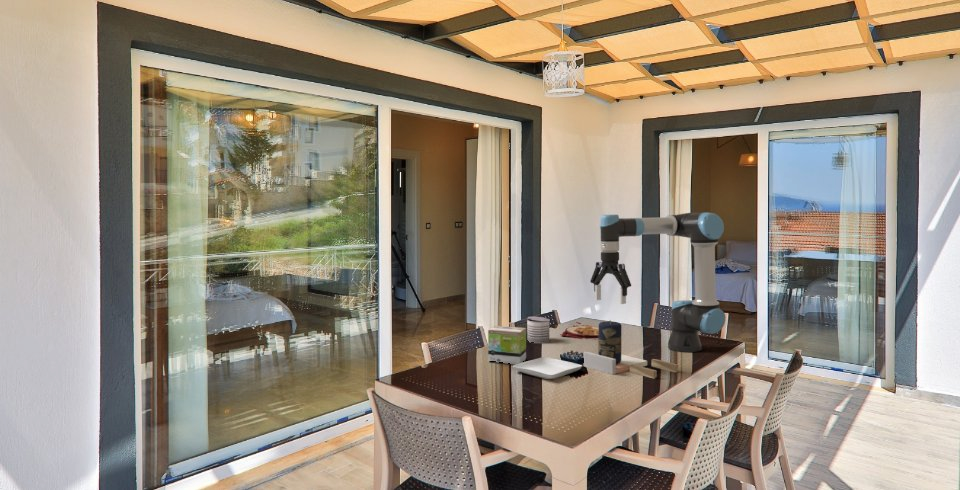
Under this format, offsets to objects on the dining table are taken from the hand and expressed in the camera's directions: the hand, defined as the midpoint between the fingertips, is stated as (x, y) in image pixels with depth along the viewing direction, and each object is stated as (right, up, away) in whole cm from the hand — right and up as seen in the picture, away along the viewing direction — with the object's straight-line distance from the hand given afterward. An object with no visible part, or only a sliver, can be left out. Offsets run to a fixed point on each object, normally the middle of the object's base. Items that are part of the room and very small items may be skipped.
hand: (610, 301), depth 241 cm
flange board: (+3, -28, +4) cm, 28 cm away
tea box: (-43, -28, +14) cm, 53 cm away
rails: (+16, -28, -7) cm, 33 cm away
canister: (0, -26, +1) cm, 26 cm away
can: (-25, -25, +52) cm, 63 cm away
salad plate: (-27, -29, -4) cm, 40 cm away
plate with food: (+4, -25, +68) cm, 73 cm away
